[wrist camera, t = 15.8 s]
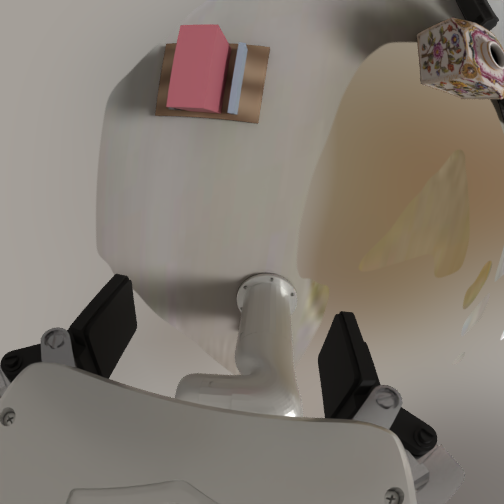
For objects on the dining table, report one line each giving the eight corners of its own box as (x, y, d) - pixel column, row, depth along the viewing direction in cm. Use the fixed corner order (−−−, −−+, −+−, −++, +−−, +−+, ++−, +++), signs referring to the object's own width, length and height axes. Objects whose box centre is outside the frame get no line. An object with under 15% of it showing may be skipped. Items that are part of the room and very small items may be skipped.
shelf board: (258, 123, 42) (257, 123, 41) (158, 115, 42) (155, 115, 41) (269, 49, 36) (269, 47, 35) (169, 45, 36) (166, 43, 35)
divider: (237, 114, 40) (234, 113, 37) (231, 114, 40) (227, 112, 37) (247, 49, 35) (245, 42, 32) (241, 49, 35) (238, 42, 32)
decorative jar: (414, 33, 30) (465, 7, 14) (459, 51, 30) (513, 39, 14) (419, 85, 36) (477, 76, 19) (462, 101, 35) (522, 103, 19)
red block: (221, 113, 40) (203, 108, 30) (192, 111, 40) (166, 106, 30) (231, 48, 35) (218, 24, 24) (202, 47, 35) (180, 25, 24)
